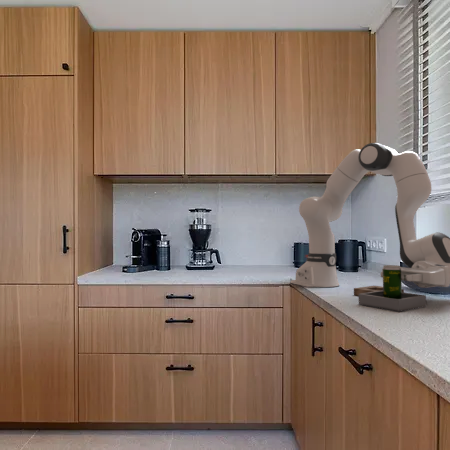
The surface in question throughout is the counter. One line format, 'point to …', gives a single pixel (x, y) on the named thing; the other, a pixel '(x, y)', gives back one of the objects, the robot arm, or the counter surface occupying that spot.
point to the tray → (392, 301)
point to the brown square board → (368, 289)
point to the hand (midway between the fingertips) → (393, 276)
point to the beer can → (392, 282)
